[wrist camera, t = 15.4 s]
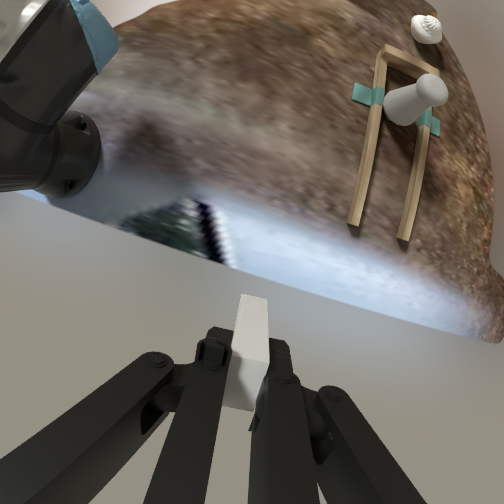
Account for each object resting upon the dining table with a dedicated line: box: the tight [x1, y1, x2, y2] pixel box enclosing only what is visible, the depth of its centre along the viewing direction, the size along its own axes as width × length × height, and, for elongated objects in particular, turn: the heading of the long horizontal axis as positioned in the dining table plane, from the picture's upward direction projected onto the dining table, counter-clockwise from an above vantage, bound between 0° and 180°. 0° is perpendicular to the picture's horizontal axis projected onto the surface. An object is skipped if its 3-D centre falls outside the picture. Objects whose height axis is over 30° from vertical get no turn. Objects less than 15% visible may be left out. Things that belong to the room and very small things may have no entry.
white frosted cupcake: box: [411, 15, 442, 44], centre depth 28 cm, size 6×6×7 cm
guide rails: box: [347, 44, 440, 241], centre depth 34 cm, size 16×29×4 cm, turn 167°
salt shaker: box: [382, 73, 448, 126], centre depth 29 cm, size 6×6×13 cm
